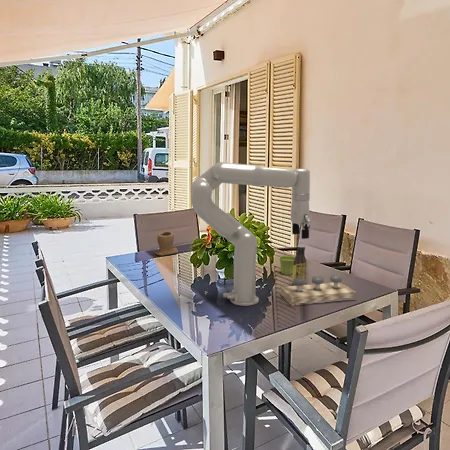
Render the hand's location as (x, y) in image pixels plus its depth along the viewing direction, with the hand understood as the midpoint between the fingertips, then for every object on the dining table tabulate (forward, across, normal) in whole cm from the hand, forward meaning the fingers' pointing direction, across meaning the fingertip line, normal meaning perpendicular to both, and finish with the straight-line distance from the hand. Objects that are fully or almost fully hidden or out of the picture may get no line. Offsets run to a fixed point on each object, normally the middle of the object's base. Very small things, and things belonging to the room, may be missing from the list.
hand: (300, 236), depth 178 cm
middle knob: (+26, +2, +8) cm, 27 cm away
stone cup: (+27, -94, -49) cm, 109 cm away
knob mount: (+29, +2, +8) cm, 30 cm away
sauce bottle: (+29, -16, +7) cm, 34 cm away
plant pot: (+29, -36, +9) cm, 47 cm away
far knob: (+26, +2, +17) cm, 31 cm away
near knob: (+25, +2, -1) cm, 26 cm away
